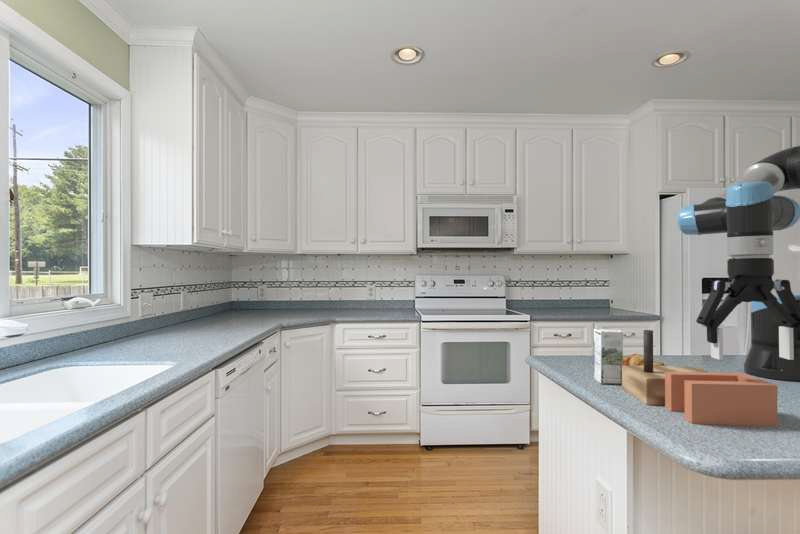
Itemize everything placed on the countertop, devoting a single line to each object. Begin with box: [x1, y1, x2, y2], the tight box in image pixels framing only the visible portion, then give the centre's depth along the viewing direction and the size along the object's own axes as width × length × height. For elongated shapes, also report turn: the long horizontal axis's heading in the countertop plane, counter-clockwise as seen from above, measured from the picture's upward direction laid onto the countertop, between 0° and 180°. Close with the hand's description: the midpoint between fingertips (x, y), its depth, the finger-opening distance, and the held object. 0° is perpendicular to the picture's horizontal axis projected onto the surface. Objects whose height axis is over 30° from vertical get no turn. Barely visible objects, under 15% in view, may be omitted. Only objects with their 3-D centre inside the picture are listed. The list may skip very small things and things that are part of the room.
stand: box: [621, 329, 709, 406], centre depth 103 cm, size 18×13×16 cm
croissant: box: [623, 353, 666, 366], centre depth 121 cm, size 21×10×8 cm, turn 33°
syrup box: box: [593, 327, 624, 385], centre depth 116 cm, size 6×6×14 cm
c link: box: [664, 371, 778, 427], centre depth 89 cm, size 16×10×8 cm, turn 85°
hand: (751, 358), depth 89 cm, fingers open, 13 cm apart
